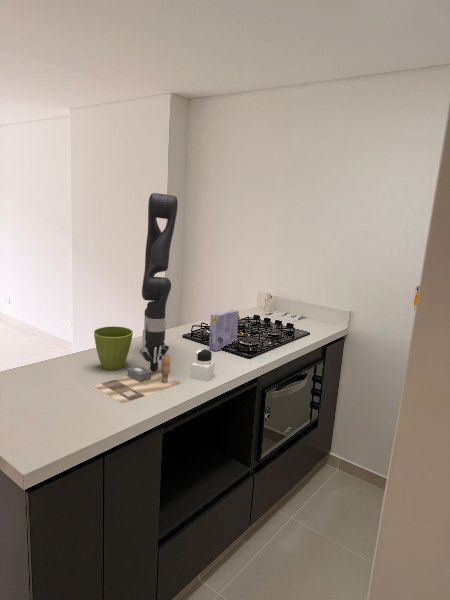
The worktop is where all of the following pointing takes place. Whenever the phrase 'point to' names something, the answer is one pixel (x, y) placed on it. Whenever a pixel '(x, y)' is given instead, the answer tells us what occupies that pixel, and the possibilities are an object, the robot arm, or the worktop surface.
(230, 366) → the worktop surface
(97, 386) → the subfloor panel
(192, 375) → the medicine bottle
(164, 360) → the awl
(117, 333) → the flower pot
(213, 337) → the cake pan box
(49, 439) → the worktop surface
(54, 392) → the worktop surface
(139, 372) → the block
